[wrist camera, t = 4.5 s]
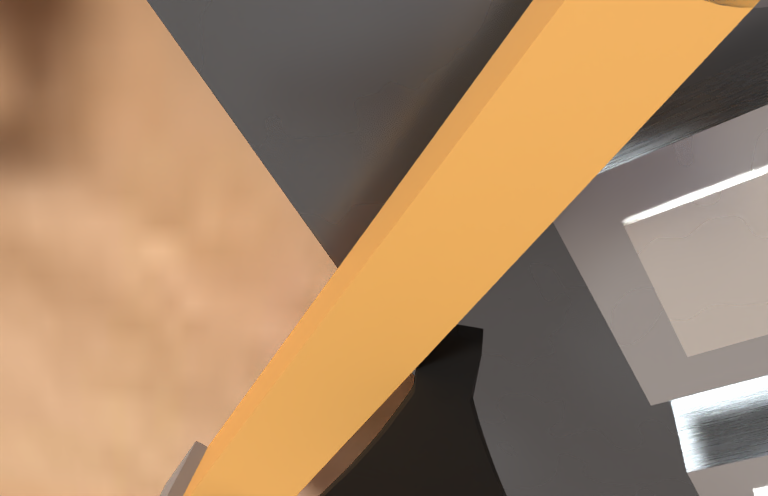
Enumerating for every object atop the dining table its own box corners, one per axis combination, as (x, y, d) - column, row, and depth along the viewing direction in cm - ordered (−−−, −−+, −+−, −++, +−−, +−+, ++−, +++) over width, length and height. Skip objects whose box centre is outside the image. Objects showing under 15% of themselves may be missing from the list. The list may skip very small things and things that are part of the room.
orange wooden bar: (738, -382, 7) (800, -439, 5) (937, -210, 7) (1052, -213, 6) (155, 477, 17) (113, 551, 15) (256, 530, 17) (226, 607, 15)
